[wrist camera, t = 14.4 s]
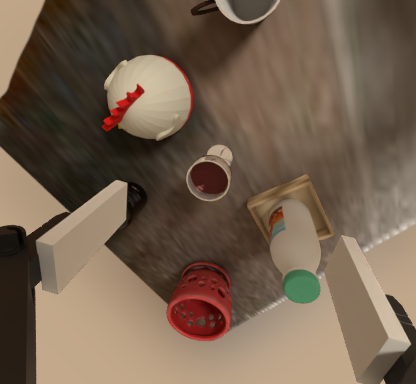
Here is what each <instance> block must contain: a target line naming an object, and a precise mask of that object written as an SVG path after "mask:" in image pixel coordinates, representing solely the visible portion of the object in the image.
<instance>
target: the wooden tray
mask: <svg viewBox="0 0 416 384" xmlns="http://www.w3.org/2000/svg"><path fill="white" fill-rule="evenodd" d="M284 199H295V200H298V201H301V202H302V203H304V204H305V205H306V206H307V207H308V209H309V211H310V214H311V217H312V220H313V223H314V226H315V230H316V233H317V236H318V240H319V241H320V240H323V239H326V238H329V237H332V236H335V233H334V231H333V229H332V226H331V224H330V222H329V220H328V218H327V215H326V213H325V211H324V209H323V207H322V205H321V202H320V200H319V198H318V196H317V194H316V192H315V189H314V187H313V185H312V183H311V181H310V179H309V177H308V174H305V175H303V176H301V177H298V178H296V179H294V180H291V181H289V182H286V183H284V184H282V185H279V186H277V187H275V188H272V189H270V190H267V191H265V192H263V193H260V194H258V195H256V196H253V197H251V198H248V203H247V208H248V209H249V211H250V213H251V215H252V216H253V218H254V220H255V222H256V224H257V225H258V227H259V229H260V231H261V233H262V234H263V236H264V238H265V240H266V242H267V243H268V245H269V247H270V239H269V212H270V210H271V208H272V207H273V206H274V205H275V204H276V203H277V202H279V201H281V200H284Z"/></svg>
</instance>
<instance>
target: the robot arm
mask: <svg viewBox="0 0 416 384" xmlns="http://www.w3.org/2000/svg"><path fill="white" fill-rule="evenodd" d="M126 206H127V183H126V182H122V181H118V180H115V181H114V182H113V183H111V184H110V185H109V186H107V187H106V188H105V189H103V190H102V191H101V192H100V193H98V194H97V195H96V196H94V197H93V198H92V199H90V200H89V201H88V202H86V203H85V204H84V205H82V206H81V207H80V208H78V209H77V210H76V211H74V212H73V213H69V212H65V213H62V214H59V215H56V216H55V217H53V218H52V219H51V220H49V221H48V222H46V223H45V224H43V225H42V227H39V228H38V229H36V230H35V231H34V232H32V233H31V234H29V235H28V236H26V231H25V229H24V228H23V227H21V226H16V225H8V226H2V227H0V384H36V320H35V318H36V317H35V316H36V315H35V286H36V285H37V284H38V283H39V282H40V281H41V282H42V289H43V290H45V291H49V292H52V293H55V294H59V293H60V292H61V291H62V290H63V288H64V287H65V286H66V285H67V284H68V283H69V282H70V280H72V279H73V277H74V276H75V275H76V274H77V273H78V272H79V271H80V270H81V269H82V268H83V266H84V265H85V264H86V263H87V262H88V261H89V260H90V259H91V257H93V256H94V254H95V253H96V252H97V251H98V250H99V249H100V248H101V247H102V246H103V245H104V243H105V242H106V241H107V240H108V239H109V238H110V237H111V236H112V235H113V234H114V232H115V231H116V230H117V229H118V228H119V227H120V226H121V225H122V224H123V223H124V221H125V220H126ZM324 273H325V276H326V279H327V283H328V286H329V289H330V293H331V296H332V300H333V303H334V306H335V310H336V313H337V316H338V320H339V323H340V326H341V330H342V333H343V336H344V340H345V343H346V347H347V350H348V353H349V356H350V360H351V363H352V367H353V370H354V374H355V377H356V380H357V382H359V383H362V384H380V383H381V381H382V380H383V379H384V381H385V383H386V384H416V329H415V327H414V326H412V322H411V320H410V319H409V318H408V315H407V314H406V312H405V310H404V308H403V307H402V305H401V304H400V303H399V302H398V301H397V300H396V299H395V298H394V297H393V296H390V295H385V294H384V292H383V290H382V289H381V287H380V285H379V283H378V281H377V279H376V278H375V275H374V274H373V272H372V270H371V268H370V266H369V264H368V262H367V260H366V259H365V257H364V255H363V253H362V251H361V249H360V247H359V246H358V244H357V242H356V240H355V238H351V237H347V236H343V235H341V236H340V238H339V241H338V243H337V245H336V247H335V249H334V251H333V253H332V255H331V257H330V259H329V262H328V264H327V266H326V268H325V270H324Z"/></svg>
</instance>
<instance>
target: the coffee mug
mask: <svg viewBox="0 0 416 384" xmlns="http://www.w3.org/2000/svg"><path fill="white" fill-rule="evenodd" d="M279 2H280V0H208V1H205V2H202V3H200V4H199V5H197V6H195V7H194V8H192V9H191V14H192V15H194V16H195V15H202V14H206V13H210V12H214V11H217V10H220V11H221V12H222V13H223V14H224V15H225V16H226V17H227V18H228V19H230V20H231V21H234V22H236V23H240V24H246V25H254V24H258V23H260V22H261V21H263V20H264V19H265V18H266V17H267V16H268V15H269V14H270V13H271V12H272V11H273V10H274V9H275V8H276V7H277V5H278V3H279ZM212 3H216V4H217V6H218V7H214V8H211V9H207V10H202V11H197V10H199V9H200V8H202V7H205V6H207V5H209V4H212Z"/></svg>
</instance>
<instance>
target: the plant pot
mask: <svg viewBox="0 0 416 384" xmlns="http://www.w3.org/2000/svg"><path fill="white" fill-rule="evenodd" d="M230 287H231V282H230V278H229V276H228V274H227V273H226V272H225V271H224V270H223V269H222V268H221V267H219V266H218V265H216V264H213V263H210V262H196V263H193V264H191V265H189V266H188V267H187V268H186V269H185V270H184V271H183V273H182V277H181V281H180V282H179V284H178V285H177V287H176V289H175V290H174V292H173V294H172V297H171V299H170V301H169V304H168V307H167V318H168V321H169V323H170V324H171V326H172V327H173V328H174V329H175V330H176V331H177V332H179V333H180V334H182V335H184V336H186V337H188V338H190V339H194V340H199V341H211V340H215V339H218V338H220V337H222V336H223V335H224V334H226V332H227V331H228V329H229V327H230V322H231V306H232V304H231V295H230ZM180 305H181V306H182V309H180ZM175 309H176V313H175V311H174V310H175ZM181 313H183V314H184V316H185V317H184V319H183V318H181ZM189 313H191V314H192V317H190V316H189ZM211 315H213V316H214V318H213V319H212V320H209V317H210V316H211ZM219 316H221V319H220V320H218V318H219ZM199 318H203V319H204V320H205V321H206V324H205V325H204V326H199V325H198V324H197V323H196V321H197V319H199ZM188 321H191V322H192V326H190V325H188V323H187V322H188ZM213 323H215V326H214V327H213V328H211V325H212V324H213ZM221 323H222V324H221Z"/></svg>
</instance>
